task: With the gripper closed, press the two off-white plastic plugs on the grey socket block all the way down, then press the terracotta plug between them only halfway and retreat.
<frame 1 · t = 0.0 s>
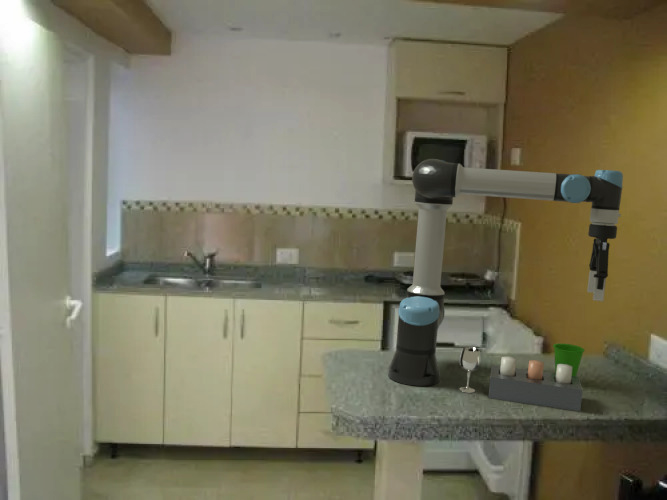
hand: (594, 296, 190), 28 cm above the countertop, fingers open, 13 cm apart
cup: (564, 383, 198), on the countertop
plug terracotta: (535, 374, 182), point 7 cm above the countertop, slide at 0.0 cm
plug white b: (563, 378, 180), point 7 cm above the countertop, slide at 0.0 cm
grey socket block: (532, 397, 182), on the countertop
wineglass: (467, 390, 185), on the countertop
plug white a: (507, 370, 183), point 7 cm above the countertop, slide at 0.0 cm
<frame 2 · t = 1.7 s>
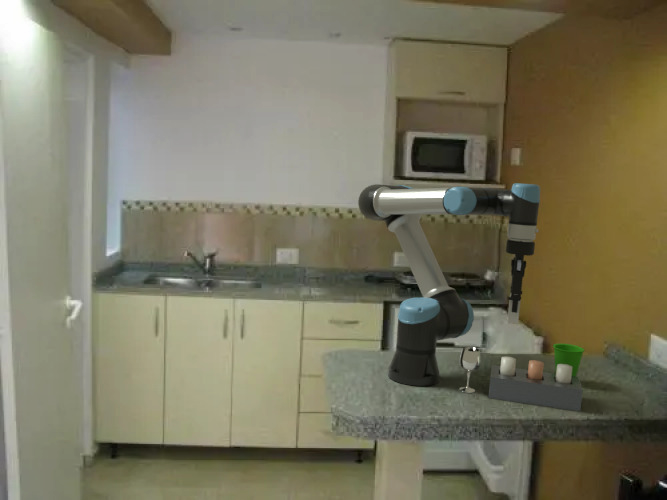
hand: (512, 319, 182), 21 cm above the countertop, fingers open, 9 cm apart
nothing on the countertop moved.
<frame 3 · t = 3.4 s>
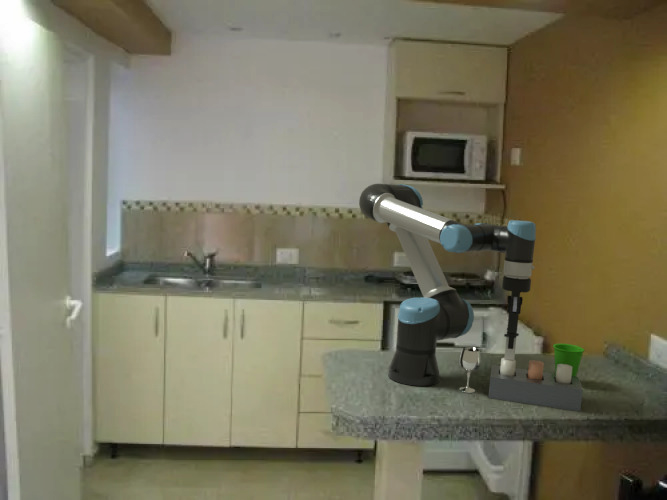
hand: (509, 358, 183), 10 cm above the countertop, fingers closed
plug white a: (507, 371, 183), point 6 cm above the countertop, slide at 0.3 cm, touching gripper
everything else where it was.
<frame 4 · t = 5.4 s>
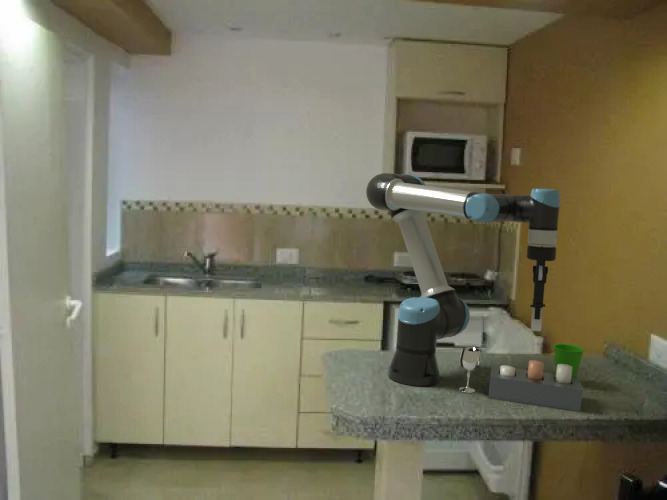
hand: (536, 330, 180), 19 cm above the countertop, fingers closed
plug white a: (506, 379, 184), point 4 cm above the countertop, slide at 2.6 cm
everything else where it was.
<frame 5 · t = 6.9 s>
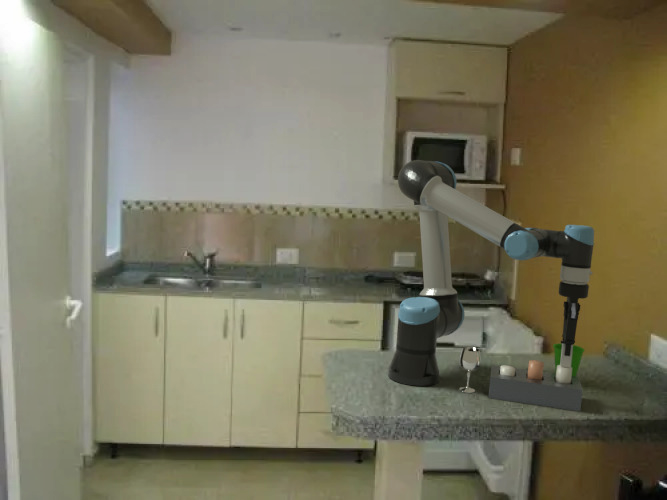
hand: (565, 366, 179), 10 cm above the countertop, fingers closed
plug white b: (563, 379, 180), point 6 cm above the countertop, slide at 0.3 cm, touching gripper
everything else where it was.
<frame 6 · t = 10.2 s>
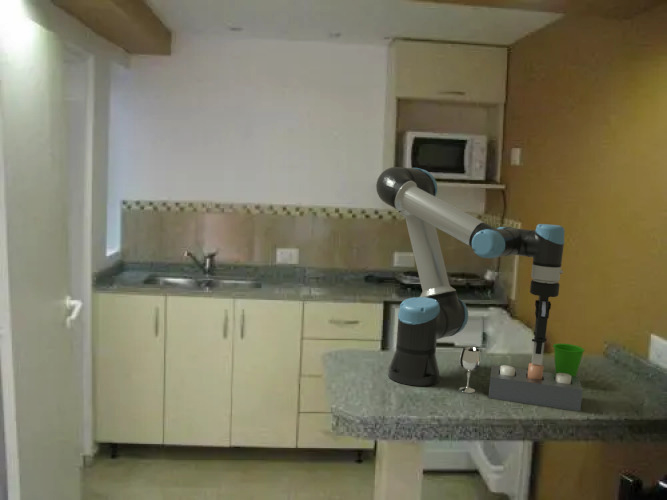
hand: (536, 364, 181), 10 cm above the countertop, fingers closed
plug terracotta: (534, 376, 182), point 6 cm above the countertop, slide at 0.7 cm, touching gripper
plug white b: (562, 387, 180), point 4 cm above the countertop, slide at 2.6 cm
everything else where it was.
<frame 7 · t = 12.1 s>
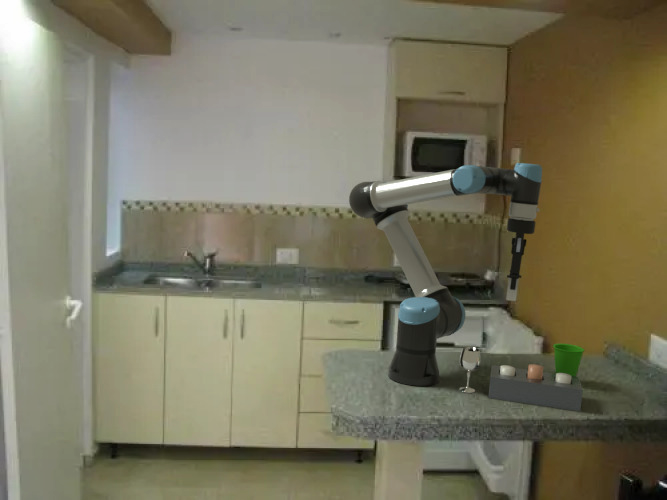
hand: (511, 300, 186), 26 cm above the countertop, fingers closed
plug terracotta: (534, 378, 182), point 6 cm above the countertop, slide at 1.2 cm
everything else where it was.
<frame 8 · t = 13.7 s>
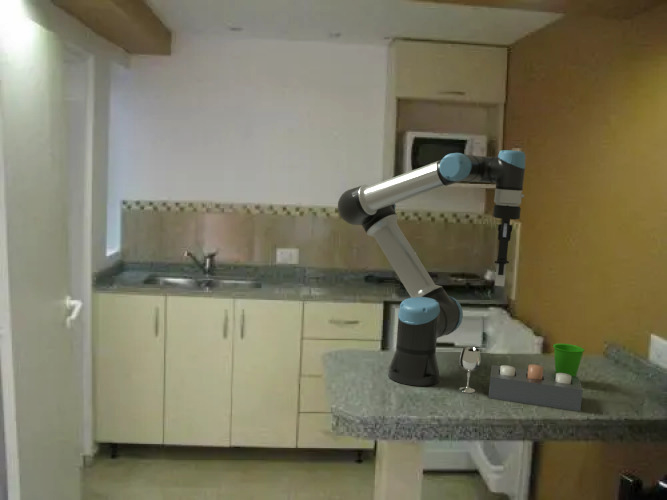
hand: (499, 285, 189), 29 cm above the countertop, fingers closed
nothing on the countertop moved.
at the end: plug white a slide at 2.6 cm; plug white b slide at 2.6 cm; plug terracotta slide at 1.2 cm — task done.
